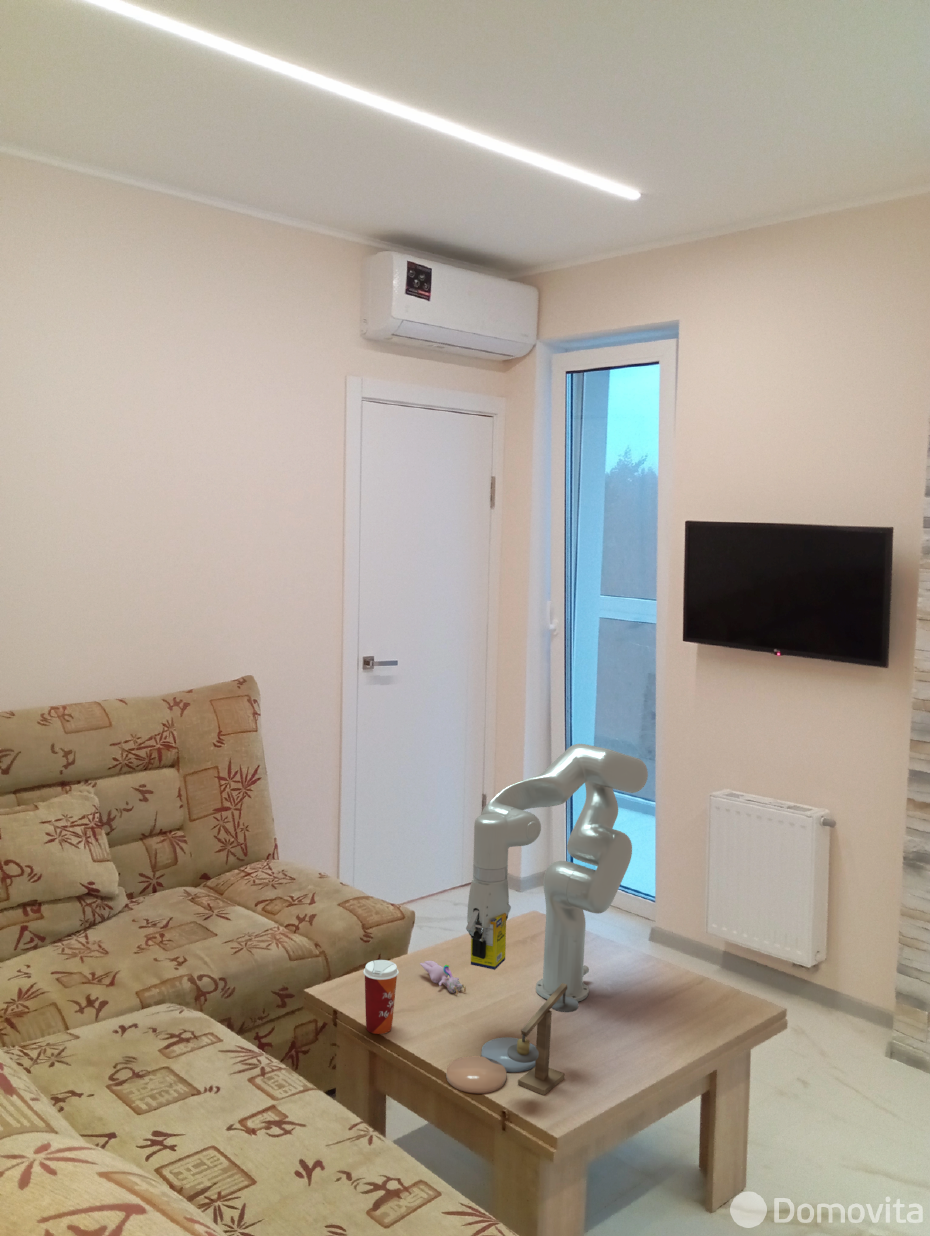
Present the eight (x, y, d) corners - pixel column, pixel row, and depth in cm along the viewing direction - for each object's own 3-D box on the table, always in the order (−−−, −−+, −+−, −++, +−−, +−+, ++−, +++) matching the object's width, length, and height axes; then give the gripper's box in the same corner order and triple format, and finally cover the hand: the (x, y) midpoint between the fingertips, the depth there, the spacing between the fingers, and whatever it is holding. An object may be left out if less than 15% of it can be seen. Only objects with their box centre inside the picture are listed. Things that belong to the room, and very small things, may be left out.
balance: (555, 1055, 211) (559, 974, 209) (580, 1065, 207) (584, 982, 206) (499, 1099, 193) (503, 1011, 192) (525, 1110, 190) (530, 1020, 189)
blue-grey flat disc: (501, 1037, 218) (502, 1031, 218) (549, 1055, 211) (549, 1049, 211) (470, 1059, 208) (470, 1053, 208) (519, 1078, 201) (519, 1073, 201)
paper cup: (391, 1038, 215) (393, 975, 214) (356, 1033, 216) (358, 971, 215) (400, 1022, 222) (403, 960, 221) (367, 1017, 224) (369, 956, 223)
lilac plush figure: (469, 996, 240) (430, 965, 250) (473, 974, 238) (434, 944, 249) (450, 1004, 235) (411, 971, 246) (454, 981, 234) (414, 950, 245)
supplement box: (505, 960, 221) (507, 912, 220) (495, 970, 216) (496, 921, 215) (481, 954, 224) (482, 907, 223) (469, 965, 218) (471, 916, 217)
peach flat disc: (468, 1055, 209) (469, 1050, 209) (517, 1075, 202) (517, 1069, 202) (434, 1079, 199) (434, 1073, 199) (484, 1100, 193) (484, 1094, 192)
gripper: (497, 858, 227) (495, 934, 229) (452, 879, 213) (451, 960, 215) (526, 865, 223) (523, 942, 225) (482, 887, 209) (479, 970, 210)
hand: (488, 950), depth 220 cm, fingers closed on supplement box, 6 cm apart
